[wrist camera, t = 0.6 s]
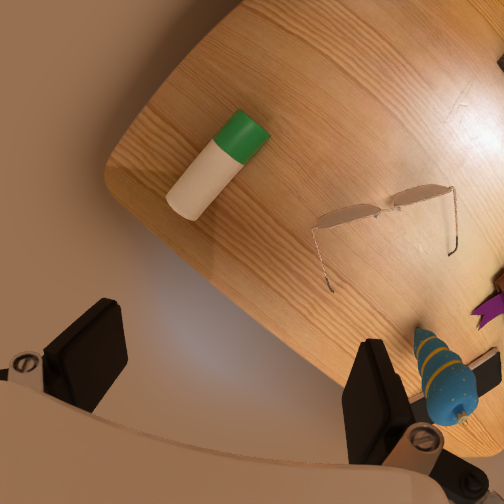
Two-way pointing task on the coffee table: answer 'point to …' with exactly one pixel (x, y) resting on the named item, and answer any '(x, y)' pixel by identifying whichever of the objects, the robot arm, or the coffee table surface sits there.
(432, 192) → the eyeglasses
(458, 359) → the ornament
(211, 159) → the marker
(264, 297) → the coffee table surface
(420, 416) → the smartphone
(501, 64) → the tray
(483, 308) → the book
